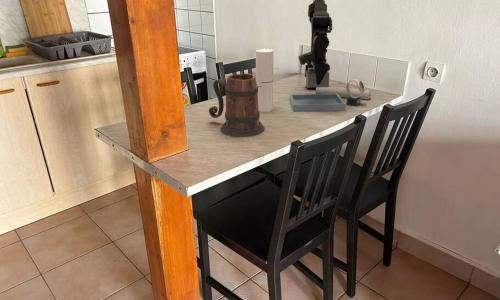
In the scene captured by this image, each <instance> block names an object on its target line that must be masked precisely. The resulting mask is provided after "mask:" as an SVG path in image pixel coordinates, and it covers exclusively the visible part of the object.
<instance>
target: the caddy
mask: <svg viewBox="0 0 500 300" xmlns="http://www.w3.org/2000/svg"><path fill="white" fill-rule="evenodd" d="M309 69H313V68H308V71H306V77H305V86H307V88H313V87H329V85H330V84H329V83H330V71H327V72H326V74H325V76H324V78H323V79H322V81H321V83H320V85H317V80H316V73H315V72H314V71H309Z"/></svg>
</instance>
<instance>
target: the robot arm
mask: <svg viewBox="0 0 500 300" xmlns="http://www.w3.org/2000/svg"><path fill="white" fill-rule="evenodd" d="M307 17H308V19H309V20H308V21H309V23H310V28H311V29H310V31H311V37H310V38H311V40H310V51H309V52H305V53H303V54H301V55H298V57H297V58H298V60H299V61H298V62H299V64H300V66H304V65H305V67H304V77H305V78H306V71H308V68H313V69H309V71H314V72H315V73H316V80H317V85H320V83H321V81H322V79H323V78H324V76H325V74H326V72H327V71H328V72H330V70H331V65H330V64H329V63H328V62H327V61H328V60H327V52H328V48H329V45H330V39H329V38H328V34H331V33H332V31H333V19H332V17H331V16H330V13H329V12H328V4H327V3H326V1H325V0H312V3H310V4H309V5H308V9H307ZM304 87H305V89H306V88H307V86H306V85H305V86H304ZM306 90H307V91H308V90H309V91H310V90H316V87H313V88H307V89H306Z"/></svg>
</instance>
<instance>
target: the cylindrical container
mask: <svg viewBox="0 0 500 300" xmlns="http://www.w3.org/2000/svg"><path fill="white" fill-rule="evenodd" d="M255 78H256V83H257V86H258V111H259V113H260V112H261V113H266V112H267V113H269V112H271V111H273V109H274V49H271V48H269V49H268V48H261V49H256V50H255Z"/></svg>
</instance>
